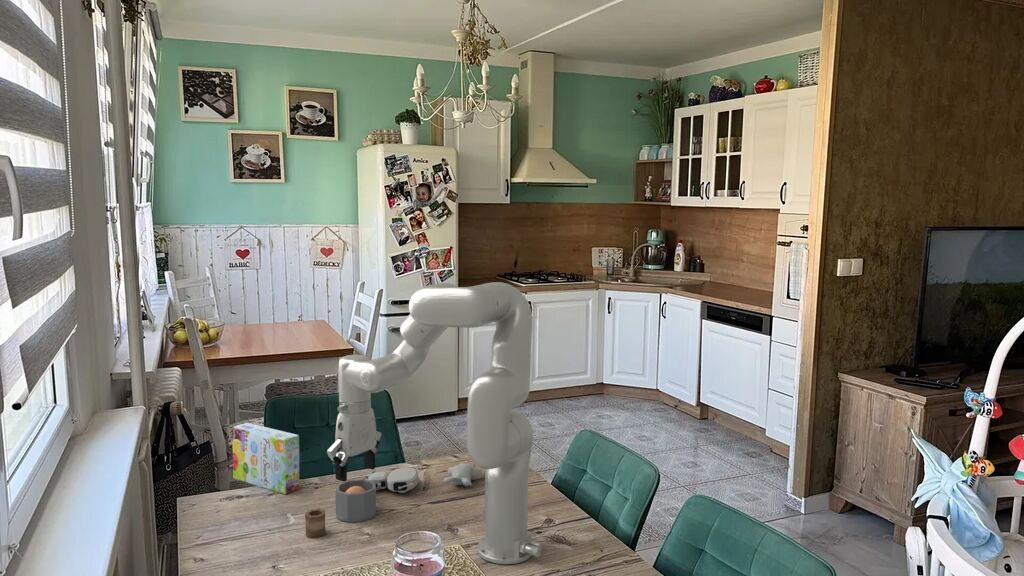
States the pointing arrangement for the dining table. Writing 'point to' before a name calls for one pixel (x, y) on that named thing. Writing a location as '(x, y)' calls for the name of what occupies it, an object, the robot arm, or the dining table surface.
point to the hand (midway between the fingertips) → (355, 474)
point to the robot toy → (395, 479)
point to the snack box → (266, 457)
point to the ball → (355, 490)
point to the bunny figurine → (463, 474)
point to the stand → (315, 523)
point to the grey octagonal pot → (355, 501)
